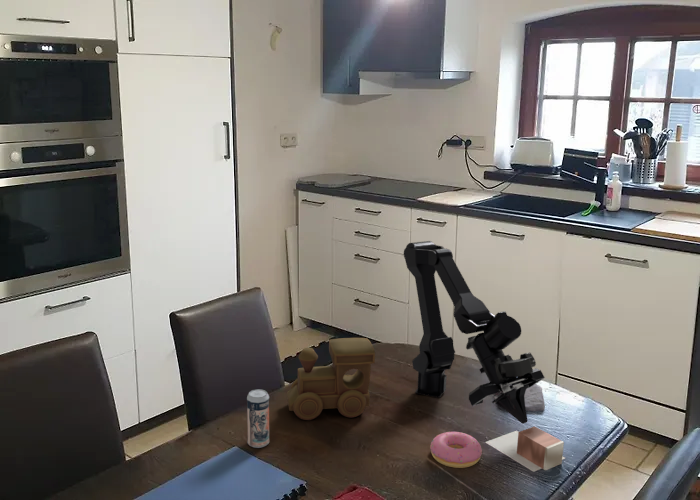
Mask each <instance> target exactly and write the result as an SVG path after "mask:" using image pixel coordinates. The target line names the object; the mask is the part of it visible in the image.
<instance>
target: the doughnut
mask: <svg viewBox="0 0 700 500" xmlns="http://www.w3.org/2000/svg"><path fill="white" fill-rule="evenodd" d="M429 448H430V451H431V452H430V453H431V455H432V457H433V458H434V460H435V461H436V462H438V463H439V464H441V465H443V466H445V467H449V468H455V469H465V468H469V467H472V466H474V465H475V464H477V463H478V462H479V461H480V460H481V458H482V457H481V456H482V453H483V450H482V446H481V444H480V442H479V441H478V440H477V439H476V438H475V437H473V435H470V434H467V433H464V432H459V431H447V432H446V431H445V432H441V433H440V434H437V435H436V436H435V437H434V438H433V439H432V440H431V443H430V445H429Z"/></svg>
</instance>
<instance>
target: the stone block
mask: <svg viewBox="0 0 700 500" xmlns="http://www.w3.org/2000/svg"><path fill="white" fill-rule="evenodd" d="M509 386H510V385H509ZM524 398H525V407H526V412H527V411H528V412H540V411H541V412H543V411H544V410H545V408H546V407H545V405H546V404H545V399H544V394H543V387H542V386H541V385H539V384H538V383H536V384H535V385H533V386H532V387H530V388H527V389H526V392H525V395H524Z"/></svg>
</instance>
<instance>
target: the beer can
mask: <svg viewBox="0 0 700 500" xmlns="http://www.w3.org/2000/svg"><path fill="white" fill-rule="evenodd" d="M246 403H247V404H246V406H247V408H246V409H247V445H249V446H250V447H252V448H255V449H260V448H264V447H266V446H267V445H269V443H270V395H269V393H268V392H267V391H266V390H264V389H257V388H256V389H252V390H250V391H249V392H248V394H247V397H246Z"/></svg>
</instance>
